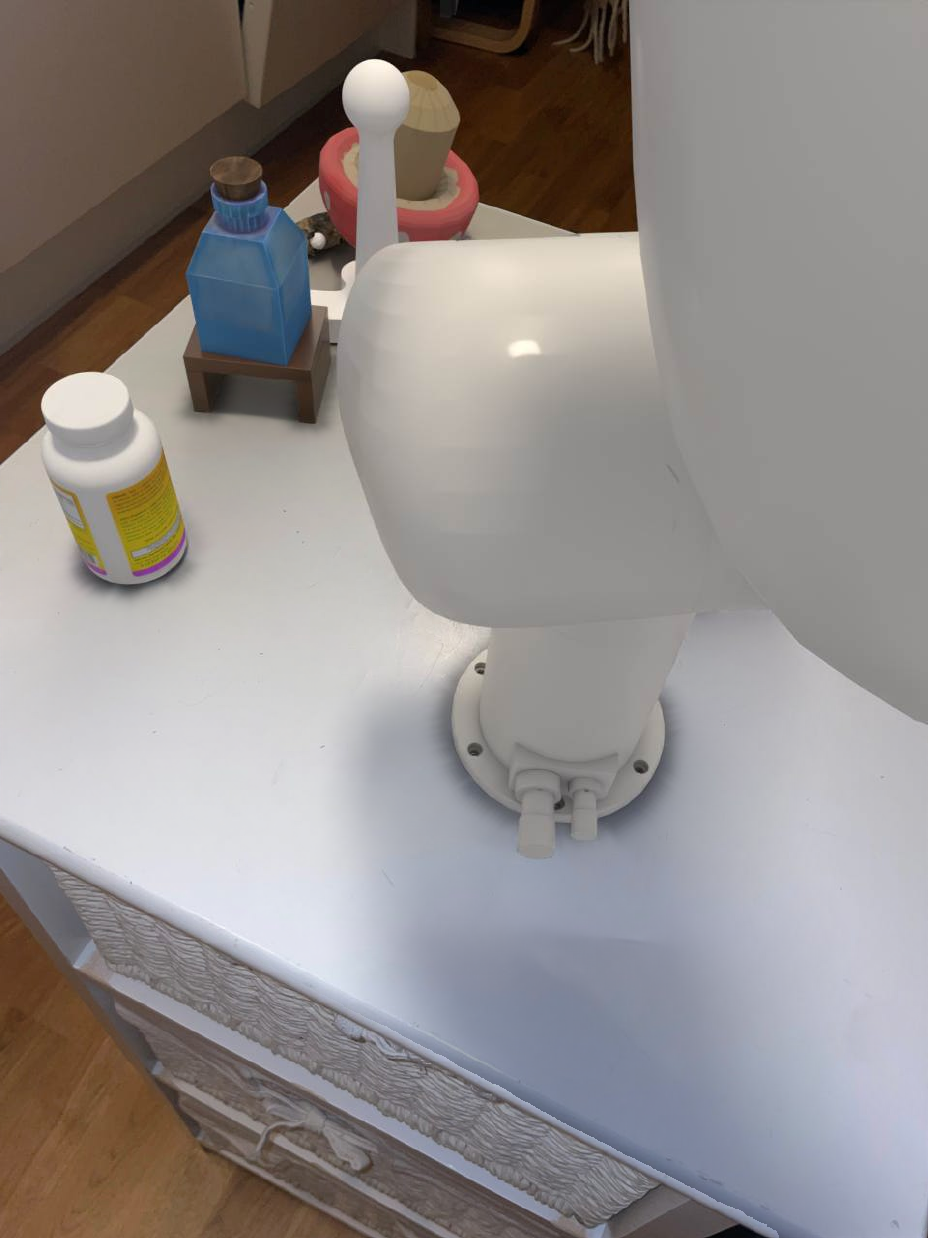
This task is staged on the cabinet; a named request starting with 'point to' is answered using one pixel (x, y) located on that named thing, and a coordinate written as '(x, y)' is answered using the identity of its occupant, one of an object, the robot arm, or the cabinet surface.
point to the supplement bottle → (111, 479)
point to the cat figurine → (319, 232)
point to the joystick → (370, 170)
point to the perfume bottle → (249, 270)
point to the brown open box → (266, 367)
